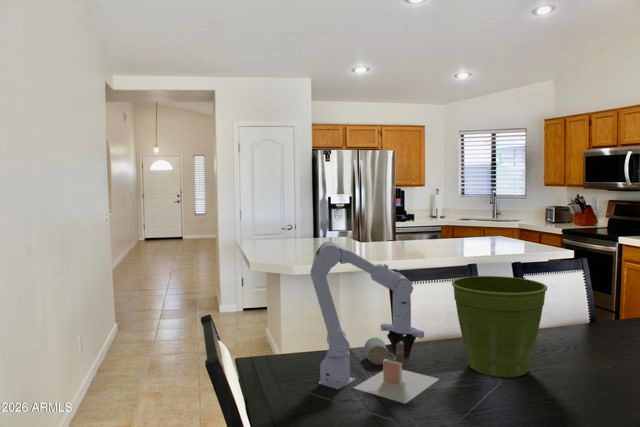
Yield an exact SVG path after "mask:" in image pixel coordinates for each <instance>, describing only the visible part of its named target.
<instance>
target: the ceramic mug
mask: <svg viewBox="0 0 640 427" xmlns="http://www.w3.org/2000/svg"><path fill="white" fill-rule="evenodd" d="M363 349H364V352H365V355H366V358H367V359H368V361H369V362H370V363H371V364H373V365H376V366H379V365H380V366H381V365H383V360H384V359H388V360H392V361H396V356H395V355H394V353H391V352H390V351H389V350H388V349H387V346H386V343H385V342H384V341H383V339H382V338H379V337H371V338H369V339H367V341H365V344H364V348H363Z"/></svg>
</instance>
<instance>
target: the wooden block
mask: <svg viewBox="0 0 640 427" xmlns="http://www.w3.org/2000/svg"><path fill="white" fill-rule="evenodd" d="M395 357H396V362H400V363H402V366H406V365H407V364H409V363H410V356H409V357H408V358H404V344H403V340H400V341H399V342H397V343H396V356H395Z"/></svg>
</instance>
